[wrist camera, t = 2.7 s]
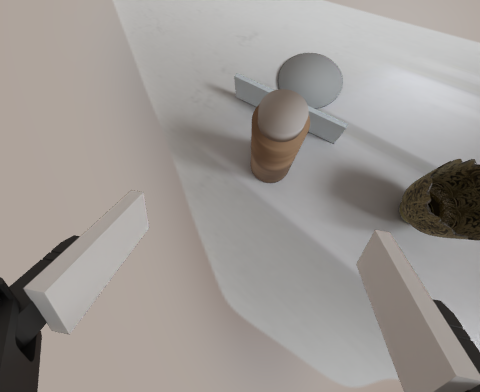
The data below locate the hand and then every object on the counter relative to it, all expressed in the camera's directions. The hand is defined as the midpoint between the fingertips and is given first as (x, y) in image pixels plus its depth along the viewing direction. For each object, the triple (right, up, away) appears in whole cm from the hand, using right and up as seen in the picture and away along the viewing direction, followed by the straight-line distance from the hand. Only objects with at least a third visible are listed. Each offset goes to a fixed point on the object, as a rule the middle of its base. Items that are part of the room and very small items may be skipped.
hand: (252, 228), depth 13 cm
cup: (+20, 0, +15) cm, 25 cm away
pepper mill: (+3, +6, +17) cm, 18 cm away
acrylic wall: (+5, +13, +18) cm, 23 cm away
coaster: (+9, +18, +19) cm, 28 cm away
